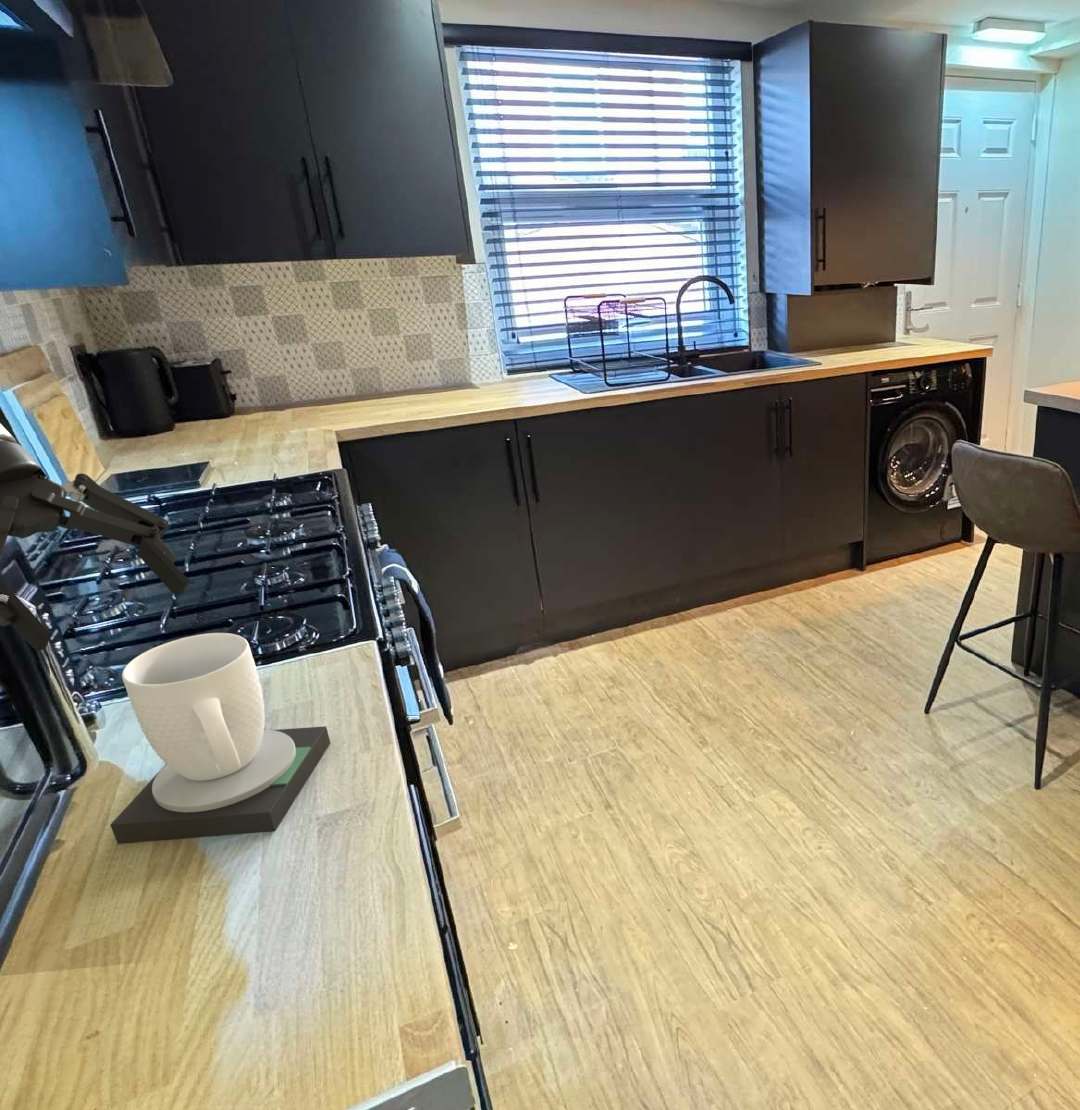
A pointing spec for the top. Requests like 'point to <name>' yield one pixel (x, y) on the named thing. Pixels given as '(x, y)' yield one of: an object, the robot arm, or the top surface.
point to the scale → (226, 793)
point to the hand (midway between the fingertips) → (118, 614)
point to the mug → (199, 703)
